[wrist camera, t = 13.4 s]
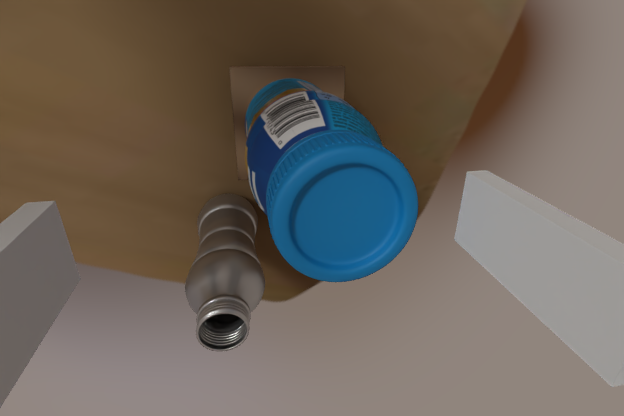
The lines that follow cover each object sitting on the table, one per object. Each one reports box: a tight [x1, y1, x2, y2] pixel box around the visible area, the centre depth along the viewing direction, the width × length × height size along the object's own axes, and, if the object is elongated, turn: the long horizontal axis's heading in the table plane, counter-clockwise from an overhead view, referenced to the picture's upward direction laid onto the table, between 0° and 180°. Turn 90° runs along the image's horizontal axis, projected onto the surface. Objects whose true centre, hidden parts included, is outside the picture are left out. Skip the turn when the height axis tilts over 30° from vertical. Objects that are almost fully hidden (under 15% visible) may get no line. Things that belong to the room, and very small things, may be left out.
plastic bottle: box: [185, 194, 265, 351], centre depth 35 cm, size 6×7×20 cm
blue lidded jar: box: [245, 78, 418, 282], centre depth 25 cm, size 8×8×20 cm
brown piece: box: [229, 66, 345, 180], centre depth 37 cm, size 10×10×7 cm
